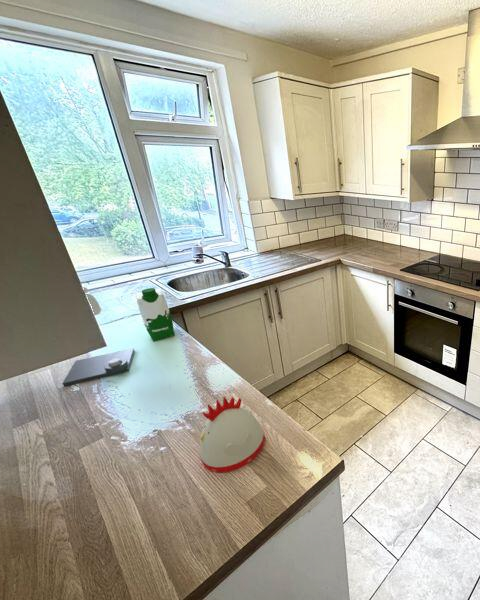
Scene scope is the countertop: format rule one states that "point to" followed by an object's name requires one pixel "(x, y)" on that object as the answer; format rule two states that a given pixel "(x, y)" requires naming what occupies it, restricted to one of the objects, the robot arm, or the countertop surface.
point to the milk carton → (155, 313)
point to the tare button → (114, 362)
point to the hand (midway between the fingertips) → (63, 339)
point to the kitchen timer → (229, 437)
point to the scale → (98, 367)
